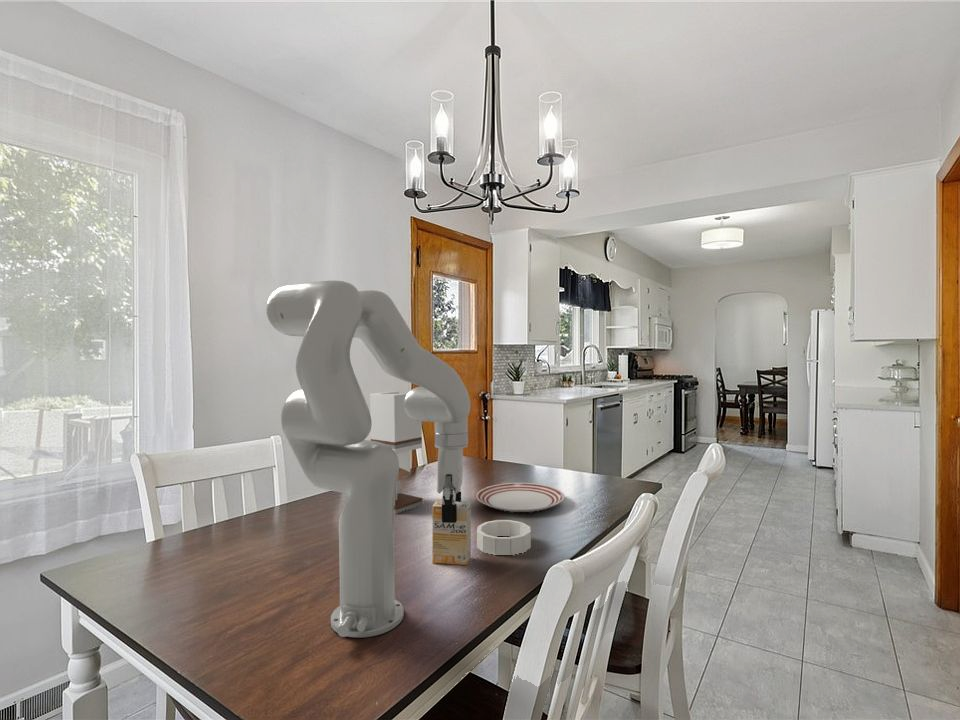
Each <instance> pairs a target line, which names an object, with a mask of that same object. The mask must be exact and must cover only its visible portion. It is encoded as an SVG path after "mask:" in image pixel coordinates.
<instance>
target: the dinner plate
mask: <svg viewBox="0 0 960 720" xmlns="http://www.w3.org/2000/svg"><path fill="white" fill-rule="evenodd" d="M565 497H566V496H565V493H564V492H563V491H562V490H560V489H558V488H556V487H553V486H550V485H546V484H541V483H534V482H508V483H500V484H498V483H497V484H494V485H490V486H487V487H484V488H482V489H480V490H479V491H478V492H477V493H476V496H475V498H476V499H477V500H478V501H479V503H481V504H483V505H485V506H488V507H489V508H493V509H496V510H498V509H499V510H500V511H502V510H504V511H503V512H506V511H510V512H509V513H514V512H529V513H535V512H534V511H537V512H539V511H540V510H541V511H544V510H547V509H550V508H553V507H555V506H558V505H559V504H561V503H562V502H563V501H564V500H565ZM541 511H540V512H541Z"/></svg>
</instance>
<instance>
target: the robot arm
mask: <svg viewBox="0 0 960 720" xmlns="http://www.w3.org/2000/svg"><path fill="white" fill-rule="evenodd" d="M265 307H266V316H267V319H268V321H269V323H270V325H271V326H272V327H273V328H274V329H275V330H276V331H278V332H279V333H280V334H282V335H285V336H290V337H303V338H302V340H301V344H300V346H299V349H298V352H297V356H296V360H295V372H296V377H297V380H298V383H299V386H300V388H301V389H298V390H295V391H294V392H292V393H291V394H290V395H289V396H288V397H287V399H285V402H284V403H283V406H282V409H281V415H280V416H281V417H280V419H281V420H280V421H281V428H282V432H283V434H284V436H285V438H286V441H287V443H288V445H289V447H290V449H291V451H292V452H293V455H294V457H295V458H296V460H297V461H296V462H297V463H298V464H299V466H300V468H301V470H302V472H303V475H305V477H306V478H307V480H308V481H309V482H310V484H312V485H313V486H314V487H317V488H319V489H322V490H326V491H330V492H332V491H333V492H336V493H343V494H345V495H346V494H347V495H348V498H347V501H346V503H345V504H344V507H343V508H342V511H341V512H340V515H339V520H338V555H339V557H338V559H339V561H338V562H339V563H338V564H339V573H338V574H339V605H338V606H337V607H336V608H335V609H334V610H333V612H332V613H331V615H330V625H331V626H330V627H331V628H332V630H333V631H334V632H336V633H337V634H338V636H339V637H340V638H346V637H348V638H356V639H357V638H371V637H375V636H379V635H382V634H386V633H387V632H389V631H391V630H393V629H394V628H396V627H397V626H399V624H400V623H402V621H403V619H404V606H403V604H402V603H401V602H400V601H399V600H397V599H396V596H395V595H396V594H395V588H396V587H395V585H396V584H395V581H396V580H395V528H394V527H395V526H394V525H395V524H394V523H395V514H394V498H395V490H396V484H397V479H398V473H399V461H398V457H397V455H396V453H395V452H394V450H393V449H392V448H390V447H389V446H388V445H386V444H383V443H380V442H376V441H371V440H366V439H367V437H368V436H369V434H371V427H372V420H371V416H370V408H369V406H368V403H367V402H366V399H365V396H364V394H363V391H362V389H361V386H360V385H359V382H358V379H357V376H356V374H355V371H354V368H353V366H352V363H351V346H352V342H353V338H358V339H360V340H361V341H362V342H363V343H364V345H365V346H366V348H367V349H368V350H369V352H370V353H371V355H372V356H373V358H374V359H375V360H376V362H377V364H378V366H380V368H381V369H382V371H384V372H385V374H388V375H390V376H391V377H394V378H396V379H398V380H400V381H403V382H407V383H410V384H413V385H415V386H417V387H414V388H412V389H411V390H409V391H408V392H407V393H406V394H407V395H406V397H405V399H404V409H405V412H406V414H407V415H408V416H409V417H410V418H412V419H414V420H417V421H422V422H426V423H429V422H430V423H434V447H435V448H437V449H438V451H437V453H438V454H437V475H436V480H437V481H436V492H437V493H438V494H441V493H442V500H441V501H442V522H443V523H456V521H457V504H455V502H462V491H461V489H462V488H461V487H462V485H463V480H464V479H463V477H464V474H463V473H464V449H465V448H468V446H469V436H468V435H469V433H468V432H469V431H468V429H469V427H468V424H469V423H468V416H469V415H470V412H471V407H472V406H471V398H470V394H469V392H468V390H467V388H466V386H465V384H464V382H463V381H462V378H461V377H460V375H459V374H458V372H457V371H456V370H455V369H454V368H453V367H452V366H450V365H449V364H448V363H446V362H445V361H444V360H443V359H441V358H439V357H438V356H436V355H435V354H433V353H432V352H431V351H429V350H427V349H425V348H423V347H422V346H421V345H420V344H419V342H418V341H417V339H416V338H415V336H414V334H413V332H412V331H411V329H410V328H409V326H408V324H407V323H406V321H405V319H404V318H403V315H402V314H401V313H400V311H399V309H398V308H397V305H396V304H395V303H394V301H393V299H392V298H391V297H390V296H389V295H388V294H386V293H384V292H382V291H379V290H358V288H356V286H354V285H353V284H352V283H350V282H346V281H344V280H321V281H313V282H305V283H296V284H289V285H284V286H281V287H278V288H277V289H276V290H274V291H273V292H272V293H271V294H270V296H269V298H268V299H267V303H266V306H265Z"/></svg>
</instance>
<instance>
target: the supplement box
mask: <svg viewBox="0 0 960 720" xmlns="http://www.w3.org/2000/svg"><path fill="white" fill-rule="evenodd" d="M455 504H457V521H456V523H443V522H442V500H439V499H437V500H436V501H435V502H434V503H433V505H432V517H431V518H432V520H431V522H432V523H431V525H432V527H431V528H432V529H431V530H432V540H431V541H432V542H431V543H432V544H431V545H432V547H431V549H432V550H431V551H432V554H431V555H432V561H431V562H432V564H440V565H442V564H444V565H463V566H468V565H469V562H470V560H471V556H472V555H471V552H472V551H471V548H472V546H471V545H472V544H471V543H472V541H471V540H472V539H471V538H472V529H471V528H472V502H471V501H461V502H455Z"/></svg>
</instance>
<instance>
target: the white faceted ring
mask: <svg viewBox="0 0 960 720" xmlns="http://www.w3.org/2000/svg"><path fill="white" fill-rule="evenodd" d="M476 527H477V528H476V548H477V549H478V550H479V551H481V552H482V553H484V554H487V553H488V555H491V554H493V555H492V556H495V555H513V556H516V555H515V554H517V555H520V554H519V553H522V554H524V552H525V553H526V552H528V551H529V550H531V549H530V548H532V538H531V537H532V536H531V535H532V534H531V533H532V530H531V526H530V525H528V524H526V523H524V522H521V521H517V520H512V519H495V520H491V521H485V522H483V523H481V524H479V525H477V526H476ZM497 536H511V537H497ZM528 549H529V550H528ZM527 550H528V551H527Z"/></svg>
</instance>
